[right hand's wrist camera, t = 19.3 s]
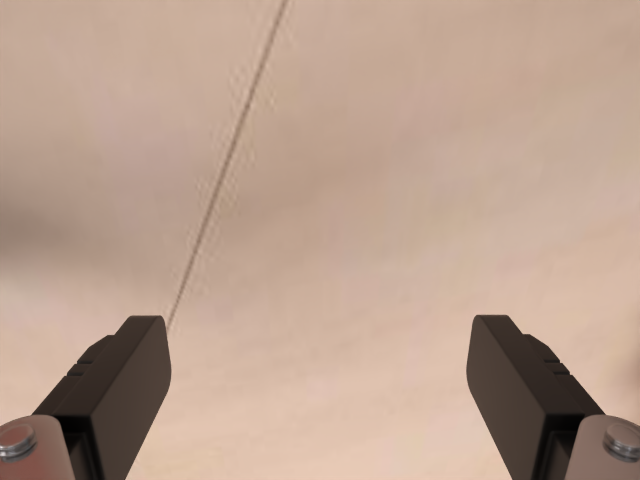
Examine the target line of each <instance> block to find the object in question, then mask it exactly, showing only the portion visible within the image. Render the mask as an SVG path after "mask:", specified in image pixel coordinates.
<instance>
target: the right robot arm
mask: <svg viewBox="0 0 640 480" xmlns="http://www.w3.org/2000/svg"><path fill="white" fill-rule="evenodd" d="M466 372H467V381H468V386H469V389H470V392H471V394H472V396H473V398H474V400H475V402H476V404H477V406H478V408H479V411H480V413H481V415H482V417H483V419H484V421H485V423H486V425H487V427H488V429H489V431H490V434H491V436H492V438H493V440H494V442H495V444H496V446H497V448H498V450H499V452H500V455H501V457H502V459H503V461H504V463H505V465H506V467H507V469H508V471H509V473H510V475H511V478H512V480H640V426H638V425H636V424H634V423H632V422H630V421H627V420H625V419H622V418H619V417H614V416H609V415H606V414H605V413H604V412H603V411H602V409H601V408H600V407H599V406H598V405H597V404H596V402H595V401H594V400H593V399H592V398H591V396H590V395H589V394H588V393H587V392H586V391H585V389H584V388H583V387H582V386H581V385H580V383H579V382H578V381H577V380H576V379H575V378H574V376H573V375H570V372H569V370H568V369H567V368H566V367H565V366H564V365H563V363H560V360H559V359H558V357H557V356H556V355H555V354H554V353H553V352H552V350H551V349H550V348H549V347H548V346H547V345H545V344H544V343H542V342H541V341H539V340H538V339H536V338H535V337H533V336H532V335H530V334H522V333H521V331H520V330H519V329H518V327H517V326H516V325H515V324H514V322H513V321H512V320H511V319H510V317H509V316H507V315H476V316H475V317H474V320H473V324H472V331H471V338H470V345H469V352H468V359H467V369H466ZM170 381H171V362H170V355H169V348H168V341H167V334H166V327H165V322H164V319H163V317H162V316H130V317H129V318H128V319H127V320H126V321H125V322H124V324H123V325H122V326H121V327H120V329H119V330H118V331H117V332H116V334H115V335H107V336H106V337H104V338H102V339H101V340H99V341H98V342H96V343H95V344H93V345H92V346H90V347H89V348H88V349H87V350H86V351H85V353H84V354H83V355H82V356H81V357H80V358H79V360H78V361H77V364H74V365H73V367H72V368H71V369H70V370H69V371H68V373H67V376H64V377H63V378H62V380H61V381H60V382H59V383H58V384H57V385H56V387H55V388H54V389H53V390H52V391H51V392H50V394H49V395H48V396H47V397H46V398H45V399H44V401H43V402H42V403H41V404H40V405H39V407H38V408H37V409H36V410H35V411H34V412H33V414H32V415H31V416H26V417H21V418H18V419H15V420H13V421H10V422H8V423H6V424H4V425H2V426H0V480H125V479H126V477H127V475H128V473H129V471H130V469H131V466H132V464H133V462H134V460H135V458H136V456H137V454H138V452H139V450H140V448H141V446H142V444H143V442H144V440H145V438H146V435H147V433H148V431H149V429H150V427H151V425H152V423H153V421H154V419H155V417H156V415H157V413H158V411H159V409H160V406H161V404H162V402H163V400H164V398H165V396H166V394H167V392H168V389H169V386H170Z"/></svg>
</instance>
